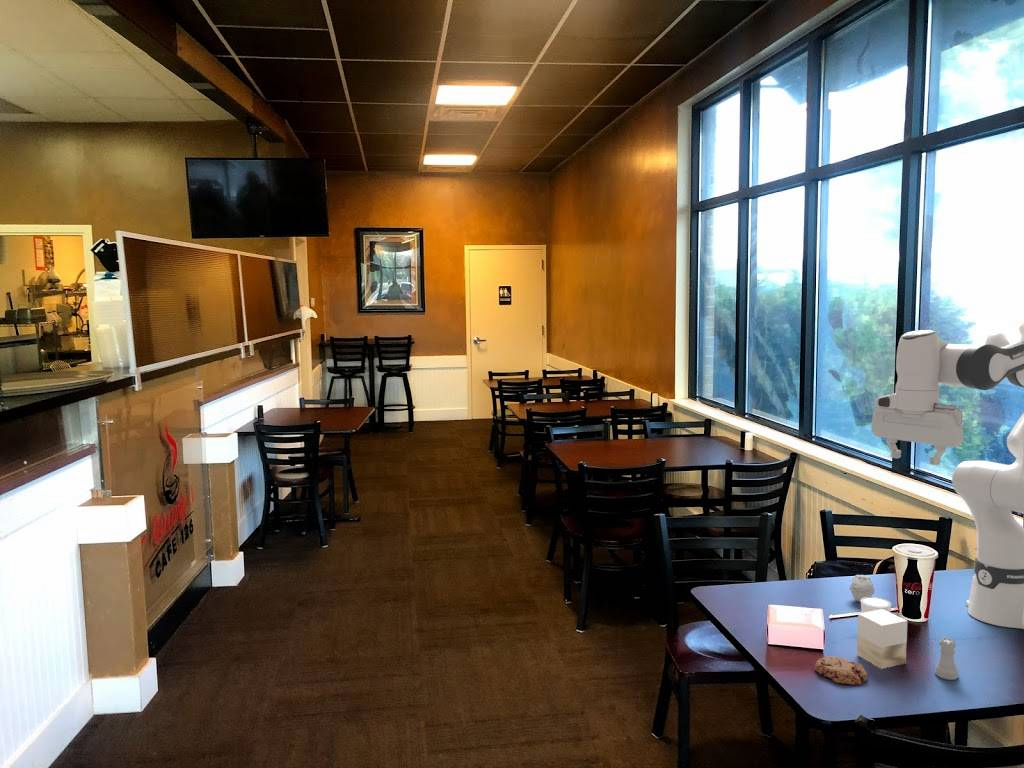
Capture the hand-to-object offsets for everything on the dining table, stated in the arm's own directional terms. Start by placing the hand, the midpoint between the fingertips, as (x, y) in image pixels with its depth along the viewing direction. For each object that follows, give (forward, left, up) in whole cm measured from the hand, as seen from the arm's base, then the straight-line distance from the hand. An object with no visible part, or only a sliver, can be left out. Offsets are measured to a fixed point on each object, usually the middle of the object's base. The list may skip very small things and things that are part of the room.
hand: (914, 461), depth 175 cm
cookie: (+26, +7, -44) cm, 52 cm away
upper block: (+13, +5, -39) cm, 41 cm away
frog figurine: (-8, -24, -44) cm, 50 cm away
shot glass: (+2, -9, -44) cm, 44 cm away
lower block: (+13, +5, -44) cm, 46 cm away
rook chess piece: (+6, +15, -44) cm, 47 cm away
